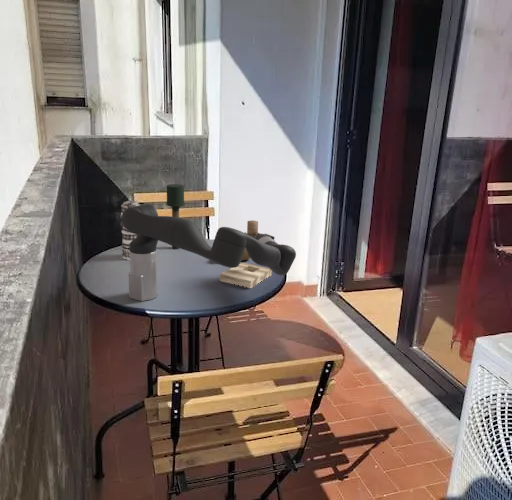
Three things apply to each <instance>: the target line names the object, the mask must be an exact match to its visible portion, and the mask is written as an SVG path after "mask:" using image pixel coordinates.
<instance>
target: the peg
mask: <svg viewBox="0 0 512 500" xmlns="http://www.w3.org/2000/svg"><path fill="white" fill-rule="evenodd" d="M246 225H247V226H246V229H247V230H246V231H247V232H246V233H247V234H248V235H253V236H257V235H258V233H259V221H258V220H248V221H247V223H246ZM247 256H249V254H248V252H247ZM249 257H250V256H249Z"/></svg>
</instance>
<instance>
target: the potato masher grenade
mask: <svg viewBox="0 0 512 500" xmlns="http://www.w3.org/2000/svg"><path fill="white" fill-rule="evenodd" d="M165 205H166V206H168V207H171V216H172V217H178V218H180V207H184V206H185V205H186V203H185V186H184V184H177V183H172V184H167V185H166V203H165ZM171 247H172V249H174V250H178V249H180V248H177V247H174V246H171Z"/></svg>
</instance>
